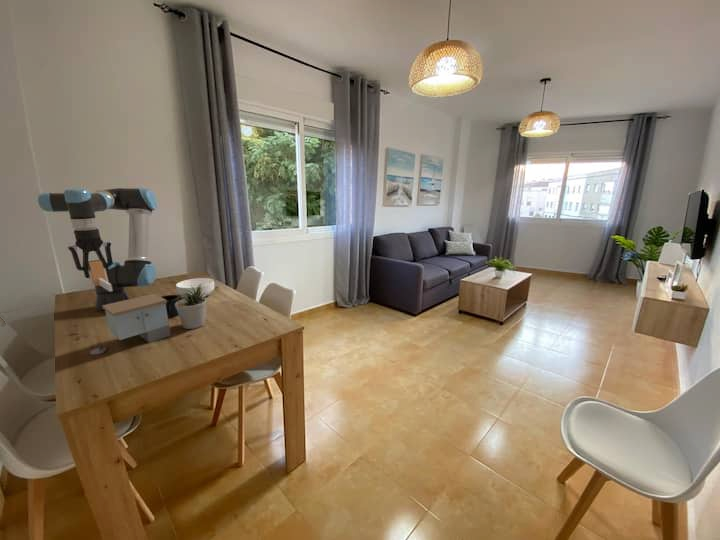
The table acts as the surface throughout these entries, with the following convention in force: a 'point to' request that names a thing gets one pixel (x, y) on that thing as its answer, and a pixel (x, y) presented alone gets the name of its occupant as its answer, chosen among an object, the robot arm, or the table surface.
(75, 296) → the table surface
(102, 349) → the token
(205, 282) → the bowl
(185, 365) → the table surface
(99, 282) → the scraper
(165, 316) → the cabinet
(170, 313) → the mug
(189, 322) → the potted plant
